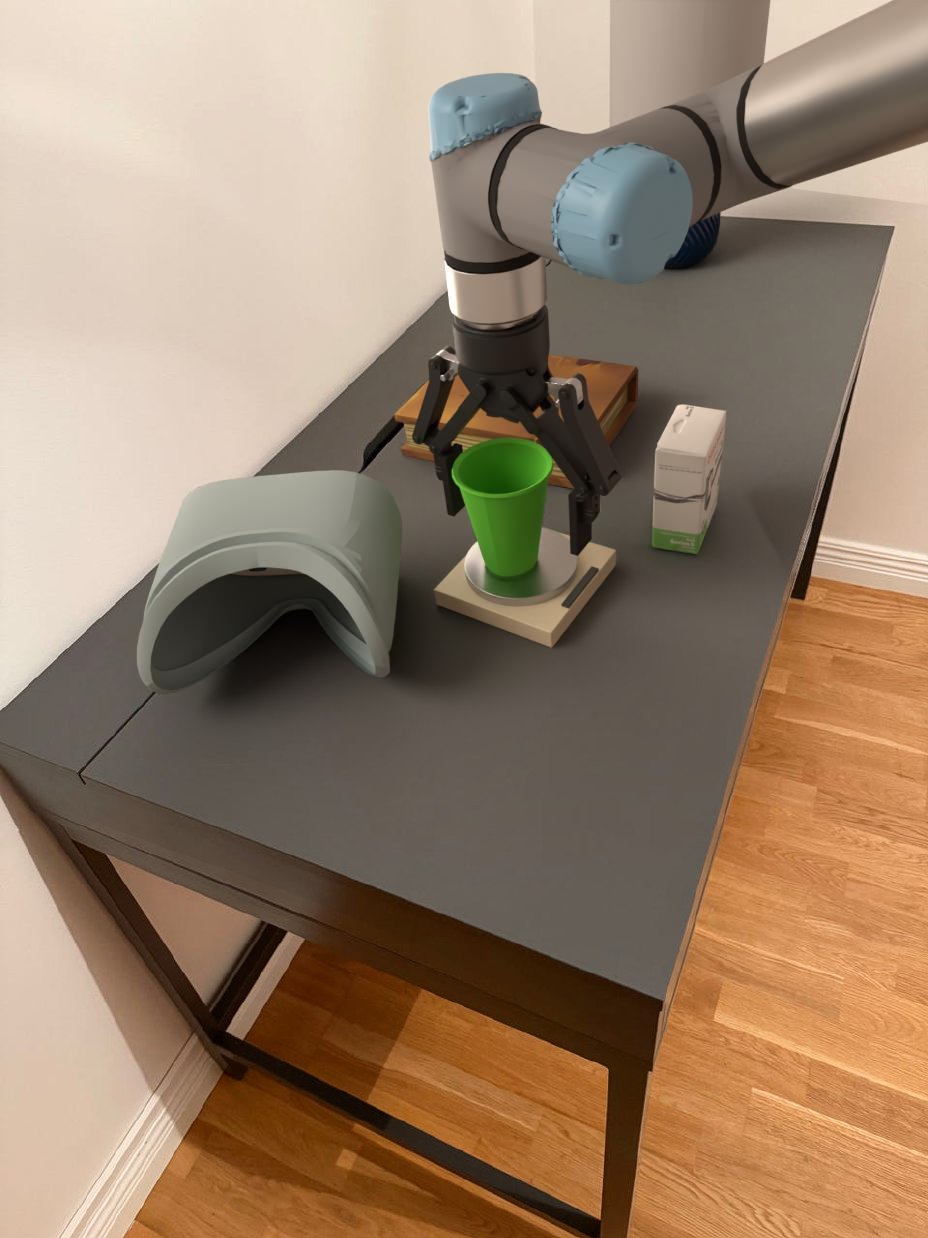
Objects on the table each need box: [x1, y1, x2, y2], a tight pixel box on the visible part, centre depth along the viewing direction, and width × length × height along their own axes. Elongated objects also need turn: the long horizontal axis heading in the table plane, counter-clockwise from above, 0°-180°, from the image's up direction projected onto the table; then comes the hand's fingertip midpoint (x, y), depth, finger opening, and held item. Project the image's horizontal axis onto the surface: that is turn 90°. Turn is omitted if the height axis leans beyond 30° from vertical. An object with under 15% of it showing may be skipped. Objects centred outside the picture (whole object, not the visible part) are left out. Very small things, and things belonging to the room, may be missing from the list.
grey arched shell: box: [136, 469, 403, 695], centre depth 82 cm, size 22×19×13 cm
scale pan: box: [464, 526, 578, 606], centre depth 87 cm, size 11×11×1 cm
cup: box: [452, 438, 554, 577], centre depth 83 cm, size 9×9×11 cm
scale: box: [433, 531, 617, 649], centre depth 88 cm, size 13×13×2 cm
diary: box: [394, 354, 639, 490], centre depth 107 cm, size 23×19×6 cm
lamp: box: [609, 0, 771, 269], centre depth 127 cm, size 20×20×37 cm
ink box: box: [651, 404, 727, 555], centre depth 88 cm, size 9×5×12 cm, turn 156°
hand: (517, 526), depth 84 cm, fingers open, 13 cm apart
